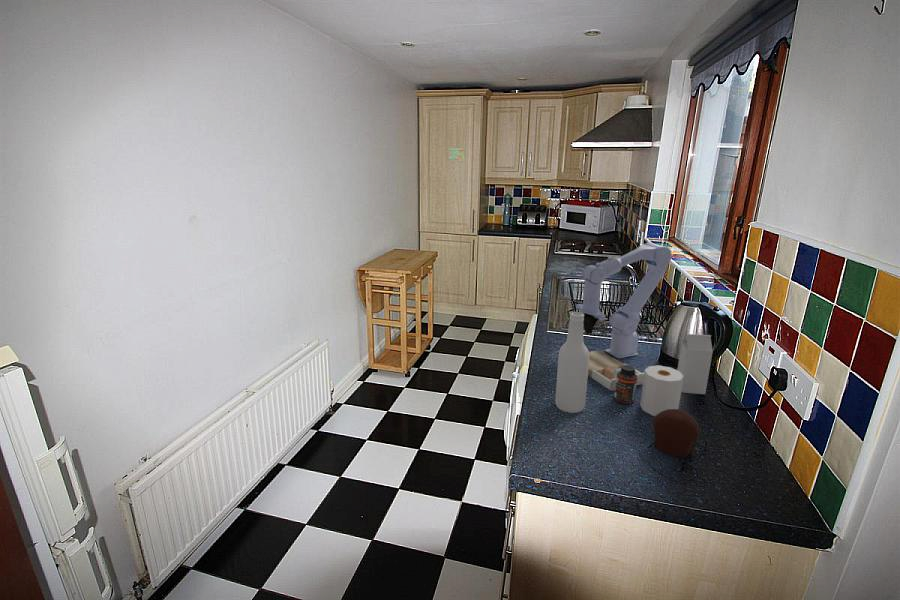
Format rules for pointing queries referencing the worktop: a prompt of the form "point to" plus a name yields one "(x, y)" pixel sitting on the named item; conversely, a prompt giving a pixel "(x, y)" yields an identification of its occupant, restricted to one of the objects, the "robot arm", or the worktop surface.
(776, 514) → the worktop surface
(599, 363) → the beech board
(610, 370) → the salmon pink cube
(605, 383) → the tray
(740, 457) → the worktop surface
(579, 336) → the alcohol
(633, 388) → the supplement bottle
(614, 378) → the sage green cube
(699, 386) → the milk carton
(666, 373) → the toilet paper
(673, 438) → the muffin
